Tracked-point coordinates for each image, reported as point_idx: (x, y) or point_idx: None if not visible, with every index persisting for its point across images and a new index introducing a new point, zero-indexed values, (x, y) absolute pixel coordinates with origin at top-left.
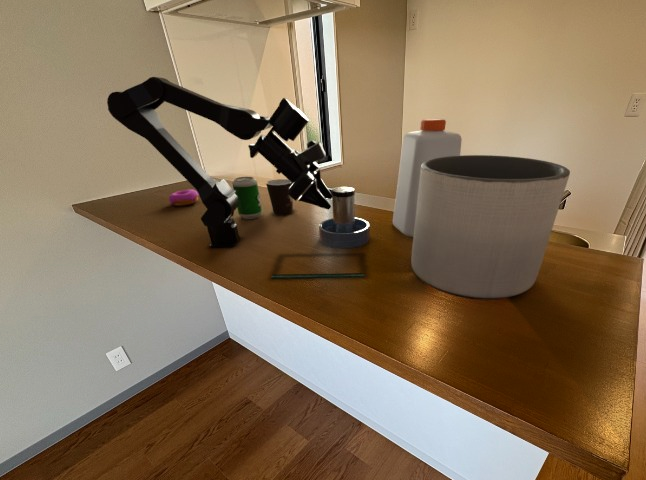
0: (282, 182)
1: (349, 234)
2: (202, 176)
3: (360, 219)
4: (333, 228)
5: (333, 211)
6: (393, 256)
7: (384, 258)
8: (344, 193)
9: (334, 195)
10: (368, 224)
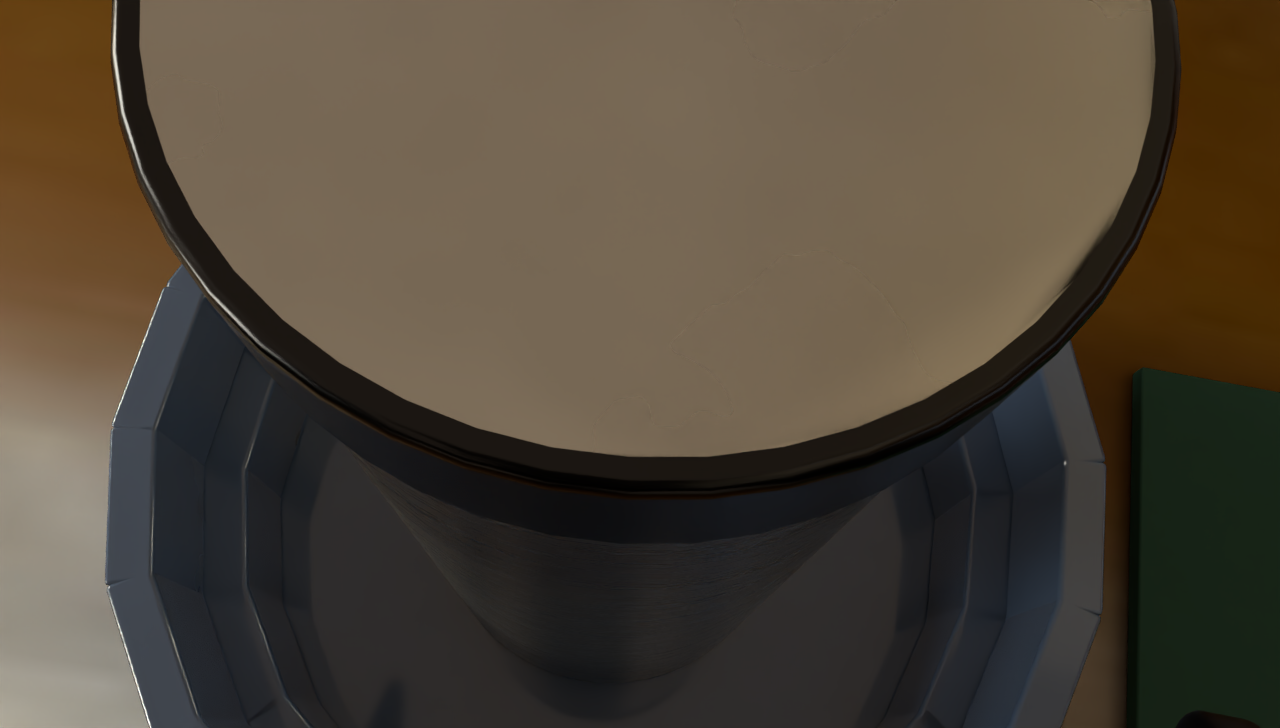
0: None
1: (1090, 438)
2: None
3: None
4: (276, 638)
5: (690, 613)
6: (1203, 55)
7: (1255, 156)
8: (1150, 40)
9: (928, 454)
10: None
